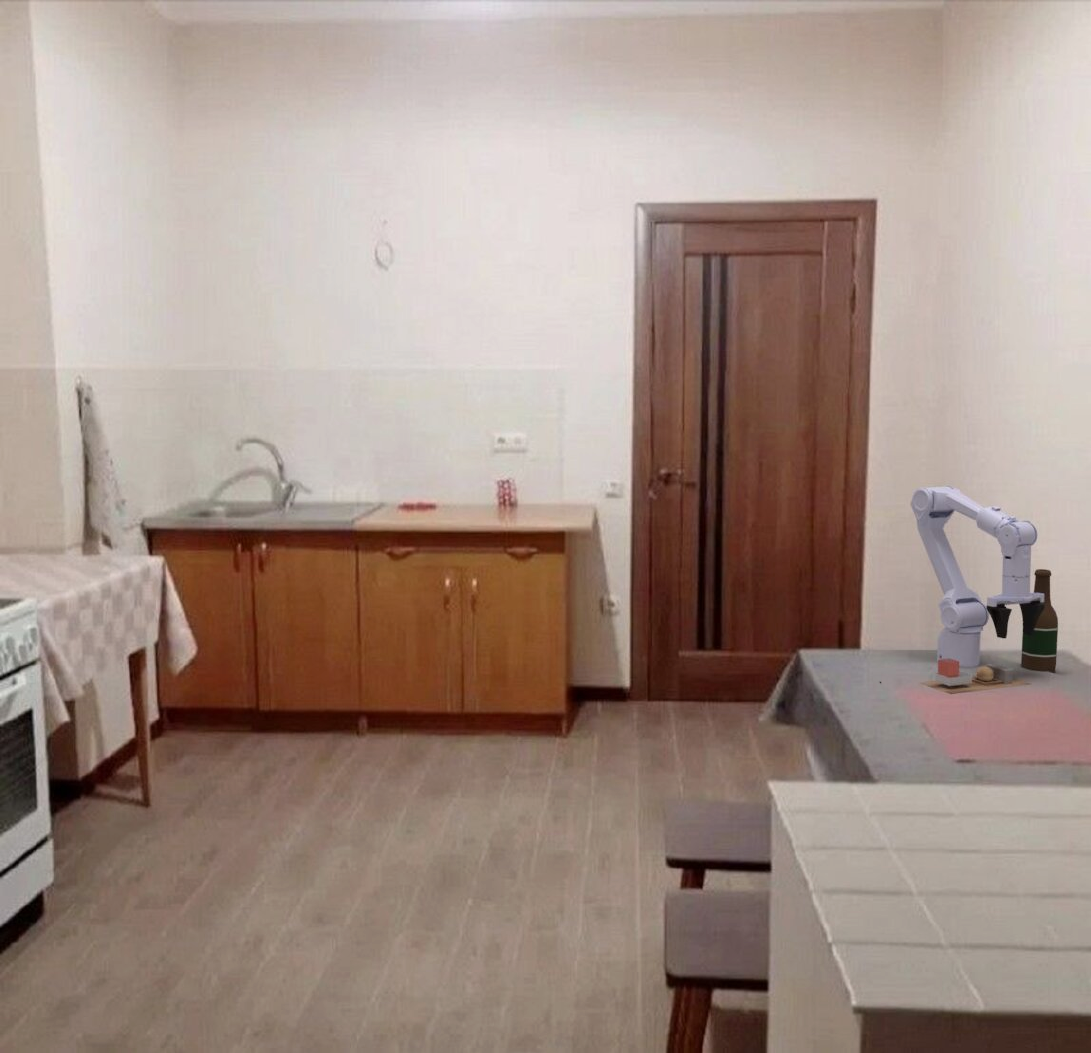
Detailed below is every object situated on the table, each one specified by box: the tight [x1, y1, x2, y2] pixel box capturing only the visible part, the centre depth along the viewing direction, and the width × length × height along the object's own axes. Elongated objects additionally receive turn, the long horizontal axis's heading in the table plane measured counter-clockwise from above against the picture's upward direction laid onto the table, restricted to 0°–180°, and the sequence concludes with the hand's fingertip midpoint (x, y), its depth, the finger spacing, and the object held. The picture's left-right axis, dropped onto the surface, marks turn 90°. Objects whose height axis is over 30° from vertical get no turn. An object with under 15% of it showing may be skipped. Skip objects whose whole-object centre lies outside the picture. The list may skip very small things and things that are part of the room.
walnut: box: [976, 665, 994, 682], centre depth 242 cm, size 4×4×4 cm
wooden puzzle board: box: [919, 663, 1031, 695], centre depth 241 cm, size 10×22×4 cm, turn 111°
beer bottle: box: [1020, 568, 1059, 674], centre depth 254 cm, size 8×8×24 cm
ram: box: [934, 658, 973, 686], centre depth 239 cm, size 4×6×5 cm
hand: (1014, 636), depth 246 cm, fingers open, 7 cm apart
